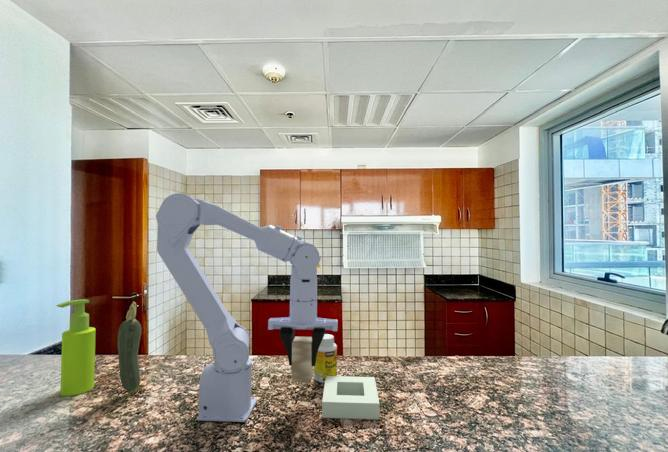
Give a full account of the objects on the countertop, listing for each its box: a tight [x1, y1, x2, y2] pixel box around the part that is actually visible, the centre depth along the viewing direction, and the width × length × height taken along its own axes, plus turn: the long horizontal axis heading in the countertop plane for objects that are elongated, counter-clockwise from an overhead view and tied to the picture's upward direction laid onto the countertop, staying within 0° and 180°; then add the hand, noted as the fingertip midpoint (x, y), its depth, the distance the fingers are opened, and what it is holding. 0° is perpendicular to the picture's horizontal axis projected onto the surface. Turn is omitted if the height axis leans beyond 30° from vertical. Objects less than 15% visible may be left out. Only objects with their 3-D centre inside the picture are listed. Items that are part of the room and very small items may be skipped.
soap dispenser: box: [56, 298, 97, 397], centre depth 70 cm, size 6×7×20 cm
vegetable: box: [117, 300, 142, 394], centre depth 69 cm, size 4×4×20 cm
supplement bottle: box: [313, 333, 338, 384], centre depth 77 cm, size 6×6×10 cm
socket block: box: [321, 375, 381, 420], centre depth 65 cm, size 11×11×3 cm
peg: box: [291, 336, 314, 384], centre depth 66 cm, size 4×4×8 cm
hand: (302, 363), depth 66 cm, fingers closed on peg, 4 cm apart
